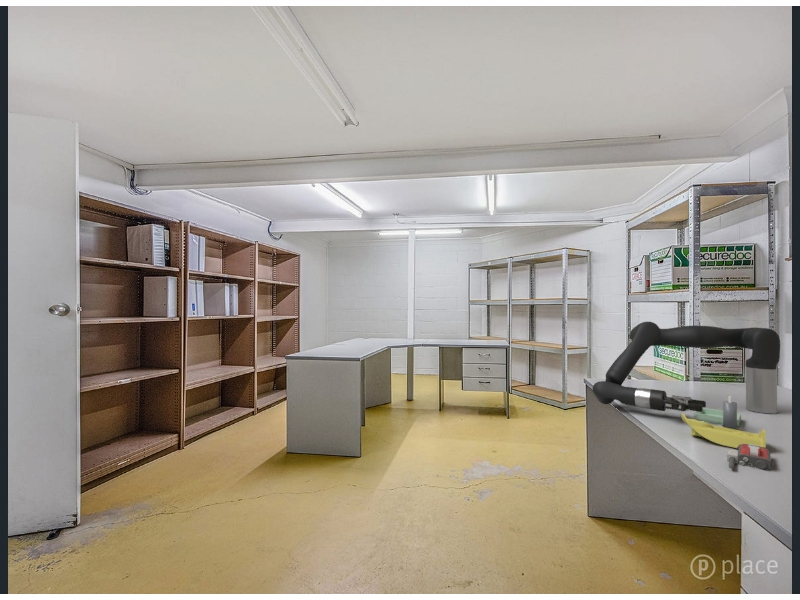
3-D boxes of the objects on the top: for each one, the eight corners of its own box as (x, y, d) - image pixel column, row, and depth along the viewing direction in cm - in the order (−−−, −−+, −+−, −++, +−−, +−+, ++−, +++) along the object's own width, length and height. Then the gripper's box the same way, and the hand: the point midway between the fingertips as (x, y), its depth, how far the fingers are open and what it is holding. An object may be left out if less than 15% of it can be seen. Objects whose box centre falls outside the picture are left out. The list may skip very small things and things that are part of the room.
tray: (699, 414, 151) (699, 407, 151) (740, 420, 143) (740, 413, 143) (695, 420, 142) (695, 413, 143) (738, 427, 134) (738, 420, 134)
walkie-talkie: (728, 450, 114) (725, 471, 99) (728, 435, 114) (725, 454, 99) (770, 458, 108) (773, 482, 93) (770, 442, 108) (773, 463, 93)
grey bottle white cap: (723, 426, 135) (723, 394, 135) (737, 429, 133) (737, 396, 133) (722, 429, 133) (722, 396, 133) (736, 431, 130) (736, 398, 130)
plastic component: (760, 435, 119) (766, 428, 112) (760, 460, 117) (765, 454, 110) (681, 418, 131) (681, 411, 124) (679, 441, 129) (679, 434, 122)
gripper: (645, 392, 144) (701, 399, 133) (654, 386, 154) (706, 392, 143) (646, 412, 144) (701, 421, 132) (654, 405, 154) (706, 413, 143)
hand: (704, 406), depth 138 cm, fingers open, 8 cm apart
